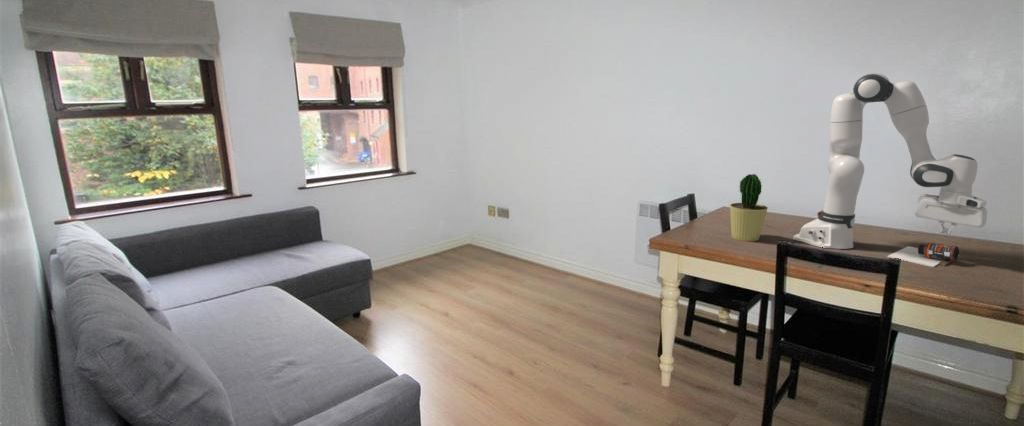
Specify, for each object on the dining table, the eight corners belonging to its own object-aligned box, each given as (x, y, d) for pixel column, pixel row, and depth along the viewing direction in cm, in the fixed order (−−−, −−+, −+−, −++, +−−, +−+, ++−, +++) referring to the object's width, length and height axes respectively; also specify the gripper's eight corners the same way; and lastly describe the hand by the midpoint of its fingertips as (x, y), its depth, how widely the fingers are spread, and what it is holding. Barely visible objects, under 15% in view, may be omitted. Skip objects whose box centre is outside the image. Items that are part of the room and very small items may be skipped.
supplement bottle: (952, 251, 181) (915, 247, 190) (954, 264, 183) (917, 259, 192) (958, 242, 183) (921, 239, 193) (960, 255, 185) (923, 251, 195)
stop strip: (939, 264, 183) (939, 262, 183) (949, 258, 190) (950, 256, 190) (944, 266, 182) (944, 263, 182) (954, 259, 189) (955, 257, 188)
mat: (887, 257, 193) (887, 256, 193) (908, 247, 205) (908, 246, 205) (933, 267, 181) (933, 266, 181) (952, 256, 193) (952, 255, 193)
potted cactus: (756, 233, 227) (763, 170, 220) (769, 242, 212) (777, 175, 205) (722, 232, 229) (728, 170, 222) (733, 242, 214) (740, 175, 207)
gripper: (917, 194, 188) (909, 228, 192) (987, 204, 172) (977, 241, 175) (922, 192, 192) (915, 225, 195) (992, 202, 175) (982, 238, 179)
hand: (945, 233), depth 185 cm, fingers closed
